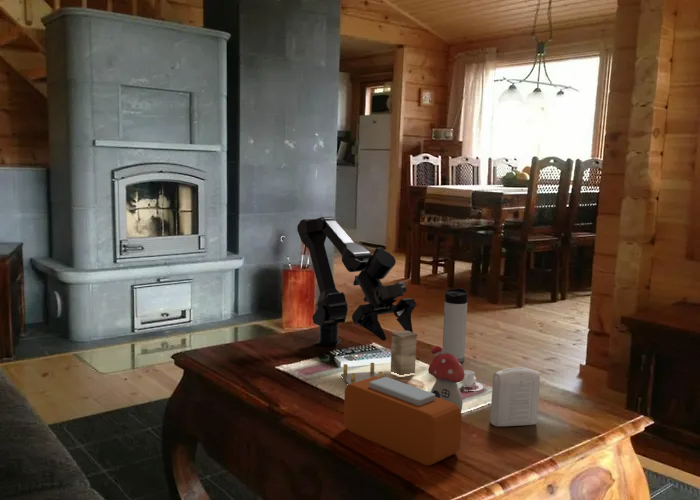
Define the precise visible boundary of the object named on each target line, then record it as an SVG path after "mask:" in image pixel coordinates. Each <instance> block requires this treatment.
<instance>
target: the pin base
mask: <svg viewBox="0 0 700 500" xmlns="http://www.w3.org/2000/svg"><path fill="white" fill-rule="evenodd" d="M369 364H370V368H369V369H370V370H369V371H364V372H363V371H362V372H349V373H348V366H349V365H348V364H346V363H345V364H343V372H342V373H340V377H341V376H342V377H343V379H344V380H345V381H346V382H347V384H348V385H349V384H352V383H355V382H358V381H362V380H365V379H368V378H371V377H375V376H377V377H381V378H383V377H384V371H379V373H376V371H375V362H370V363H369ZM343 379H342V380H343ZM344 380H343V381H344ZM345 381H344V382H345ZM347 384H346V385H347Z"/></svg>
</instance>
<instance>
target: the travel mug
mask: <svg viewBox="0 0 700 500" xmlns="http://www.w3.org/2000/svg"><path fill="white" fill-rule="evenodd" d="M444 298H445V299H444V308H443V309H444V310H443V328H442V329H443V331H442V332H443V334H442V335H443V336H442V350H441V352H442V353H443V354H444V353H448V354H451V355H453V356H454V357H456V358H457V359H458V361H459V362H460V363H462V362H464V361H465V359H466V358H465V357H466V356H465V353H466V335H467V321H468V320H467V313H468V291H467V290H465V288H461V287H457V288H453V289H447V290H446V291H445V293H444Z"/></svg>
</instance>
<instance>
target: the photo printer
mask: <svg viewBox="0 0 700 500" xmlns="http://www.w3.org/2000/svg"><path fill="white" fill-rule="evenodd" d="M540 385H541V378H540V375H539V372H538V371H536V370H534V369H531V368H526V367H519V366H518V367H508V368H504V369H501V370H499V371H496V372H494V374H493V376H492V388H491V402H490V404H491V405H490V416H489V417H490V423H491V425H493V426H495V427H514V426H515V427H516V426H533V425H537V422H538V421H537V420H538V411H539V410H538V409H539V395H540V387H541V386H540Z"/></svg>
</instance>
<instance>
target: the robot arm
mask: <svg viewBox="0 0 700 500" xmlns="http://www.w3.org/2000/svg"><path fill="white" fill-rule="evenodd" d="M296 229H297V230H296V231H297V234H298V236H299V239H300V241H301V243H302V244H303V245H304V246H305V247H306V248H307V249H308V251H309V255H310V259H311V262H312V267H313V271H314V275H315V278H316V283H317V286H318V289H319V290H318V291H319V296H318V299H317V309H316V311H315V312H314V313H313V314H312V323H313V324H314V325H317V326H318V327H319V330H318V334H319V335H318V339H317V341H316V342H315V345H318V346H327V347H328V346H331V347H337V346H338V345H339V344H341V342H342V339H341V338H339V324H345V322H346V318H347V316H348V312H349V311H348V310H349V309H348V303H347V302H348V301H347V300H346V295H345V292H340V291H338V289H337V288H336V284H335V280H334V277H333V276H334V275H333V272H332V268H331V265H330V261H329V256H328V253H327V250H326V247H325V246H326V245H325V242H326V240H327V239H328V240H329V241H330V243H332V244H333V246H334V247H335V249H337V251H338V252H339V253H340V255H341V262H342V265H343V266H344V267H345V269H346V270H347V272H349V273H357V272H359V273H358V274H357V275H355V276H354V280H353V286H359V287H360V289H361V291H362V292H363V295H364V298H363V301H364V303H365V304H359V305H358V307H357V308H356V309H355V311H354V312H353V313H352V314H351V315H352V316H351V320H352V322H353V324H354V326H357V325H359V327H360V328H361V327H363V328H364V329H366V330H367V331H368V332H370V333H372V334H373V335H375V336H376V337H378V338H379V339H380V340H381V341H383V342H385V341H386V340H387V337H386V334H385V332H384V331H385V330H383V328H382V326H381V323H380V321H379V317H378V316H381V315H386V314H394V316H395V317H396V321H397V322H398V323H399V325H400V326H401V327H402V328H403V331H406V330H407V331H410V332H413V333H414V331H413V324H412V323H413V322H412V312H414V310H415V308H416V307H417V306H418V305H417V303H416V301H415V299H414V298H412V297H409V298H401V299H400V300H399V301H398V302H397V298H399V297H403V296H404V295H405V293H407V291H408V290H407V286H406V284H405V283H404V281H397V282H395V283H393V284H388V285H383V283H382V281H381V280H384V279H385V278H386V277H387V275H388V274H389V273H390V272H391V270H392V269H393V268H394V267H395V265H396V261H397V260H396V258H395V256H394V255H392V254H391V253H390V252H388V251H386V250H384V248H383V247H376V248H375V250H374V252H373V254H372V253H371V252H370V251H369V250H368V249H366V248H365V247H364V246H362V245H359V244H357V243H355V242H354V241H353V240H352V238H351V237H350V236H349V235H348V234H347V233H346V231H345V230H344V229H343V228H342V226H340V224H339V223H338V222H337V219H336V218H335V217H334V216H321V217H319V218H307V219H306V218H305V219H301V220H300V221H299V223H298V224H297V228H296ZM396 302H397V303H396ZM366 303H367V304H366ZM394 303H396V304H394Z"/></svg>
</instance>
